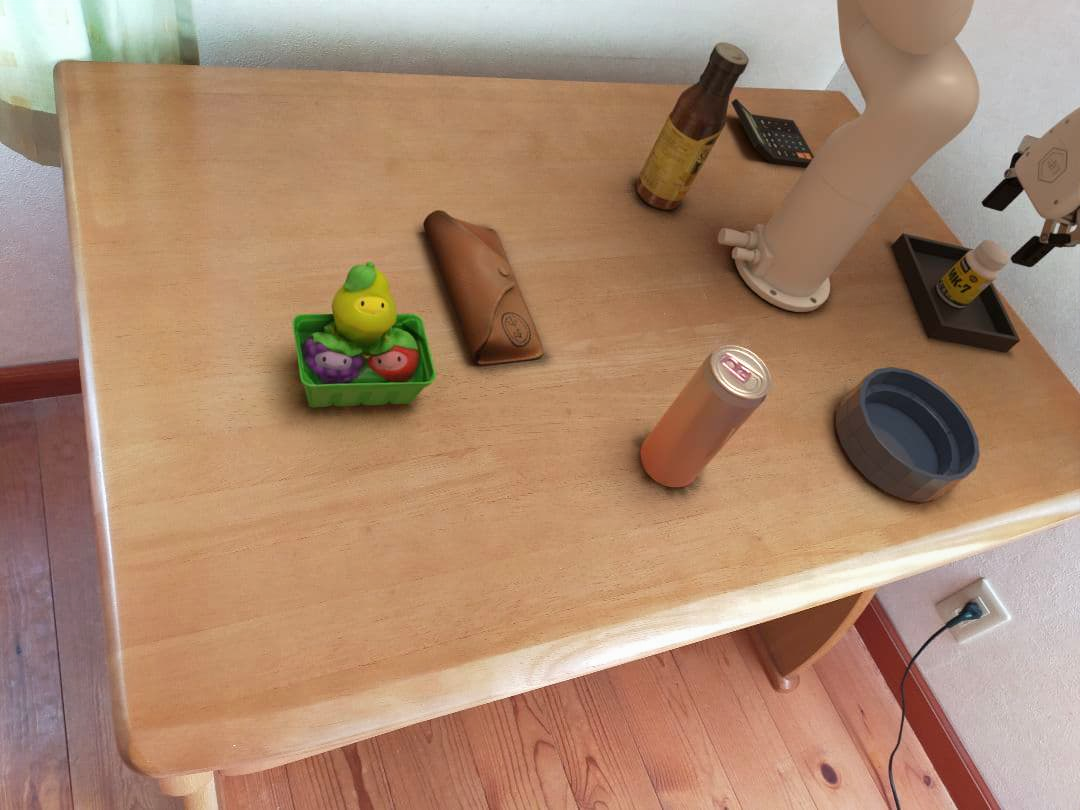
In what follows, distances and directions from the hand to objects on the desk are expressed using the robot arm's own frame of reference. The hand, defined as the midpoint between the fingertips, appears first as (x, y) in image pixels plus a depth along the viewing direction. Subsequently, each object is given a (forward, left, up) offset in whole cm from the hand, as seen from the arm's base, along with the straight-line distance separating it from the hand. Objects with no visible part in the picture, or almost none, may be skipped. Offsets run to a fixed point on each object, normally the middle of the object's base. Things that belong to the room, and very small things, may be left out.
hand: (1005, 234), depth 107 cm
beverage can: (-45, -32, -12) cm, 57 cm away
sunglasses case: (-63, -14, -12) cm, 66 cm away
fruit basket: (-75, -27, -12) cm, 81 cm away
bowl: (-17, -26, -12) cm, 33 cm away
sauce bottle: (-40, +8, -12) cm, 43 cm away
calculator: (-20, +25, -12) cm, 34 cm away
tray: (+1, 0, -12) cm, 12 cm away
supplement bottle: (+1, 0, -11) cm, 11 cm away
